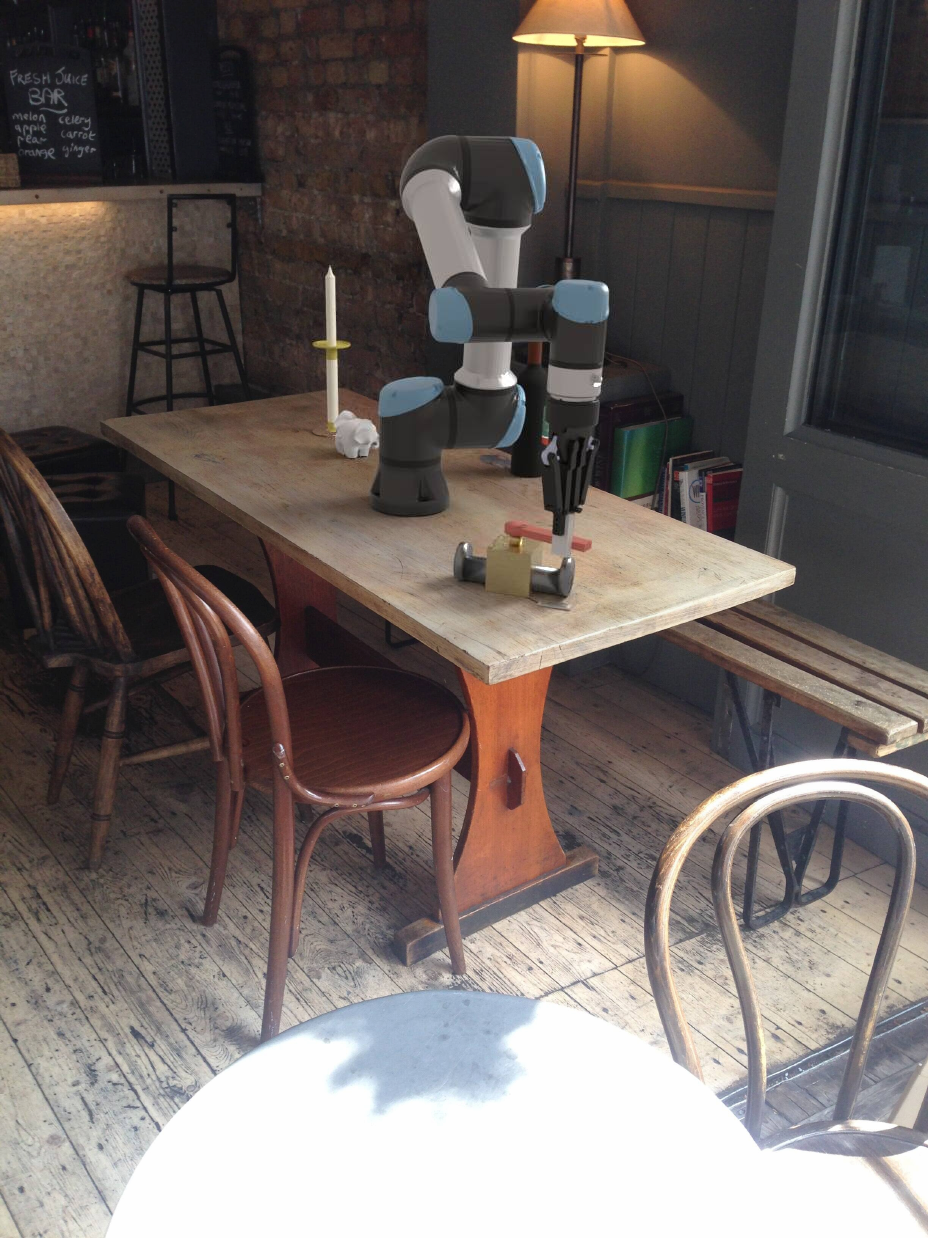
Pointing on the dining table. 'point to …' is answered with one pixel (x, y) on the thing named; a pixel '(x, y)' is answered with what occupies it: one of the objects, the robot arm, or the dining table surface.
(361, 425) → the elephant figurine
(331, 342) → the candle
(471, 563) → the valve
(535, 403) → the wine bottle
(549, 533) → the lever
